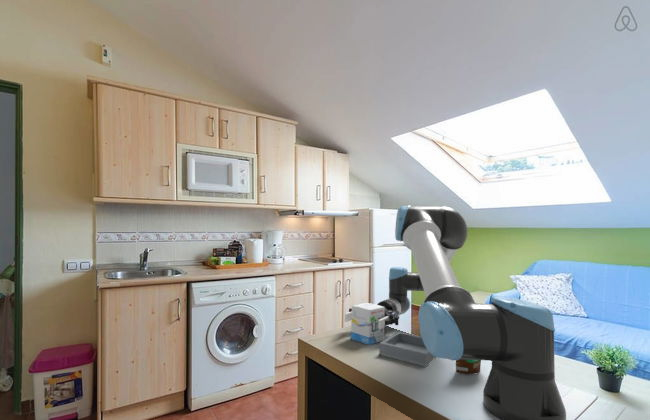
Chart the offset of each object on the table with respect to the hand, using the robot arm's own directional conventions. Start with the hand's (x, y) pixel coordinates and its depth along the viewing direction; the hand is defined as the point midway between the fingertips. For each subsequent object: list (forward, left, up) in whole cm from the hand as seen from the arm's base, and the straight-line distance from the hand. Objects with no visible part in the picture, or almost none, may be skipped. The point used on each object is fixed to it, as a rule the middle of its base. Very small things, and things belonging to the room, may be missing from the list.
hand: (362, 321), depth 111 cm
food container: (0, -35, -7) cm, 36 cm away
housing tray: (+1, -17, -7) cm, 18 cm away
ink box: (+4, 0, -7) cm, 8 cm away
